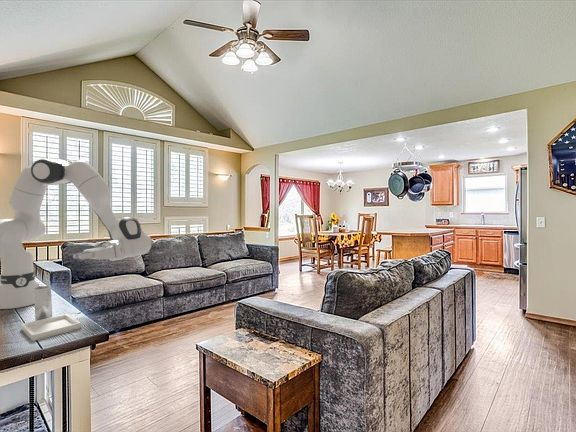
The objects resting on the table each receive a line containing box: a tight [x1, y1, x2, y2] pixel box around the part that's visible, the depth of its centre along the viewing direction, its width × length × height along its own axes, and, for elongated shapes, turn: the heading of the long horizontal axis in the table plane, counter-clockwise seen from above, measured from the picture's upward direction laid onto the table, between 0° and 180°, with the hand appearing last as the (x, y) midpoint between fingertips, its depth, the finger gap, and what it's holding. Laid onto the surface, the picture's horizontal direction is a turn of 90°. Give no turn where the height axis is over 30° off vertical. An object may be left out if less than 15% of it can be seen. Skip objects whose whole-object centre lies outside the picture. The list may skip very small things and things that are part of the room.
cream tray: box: [20, 313, 82, 342], centre depth 116 cm, size 16×14×2 cm
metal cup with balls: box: [34, 284, 53, 321], centre depth 124 cm, size 5×5×14 cm
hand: (76, 257), depth 132 cm, fingers open, 8 cm apart
